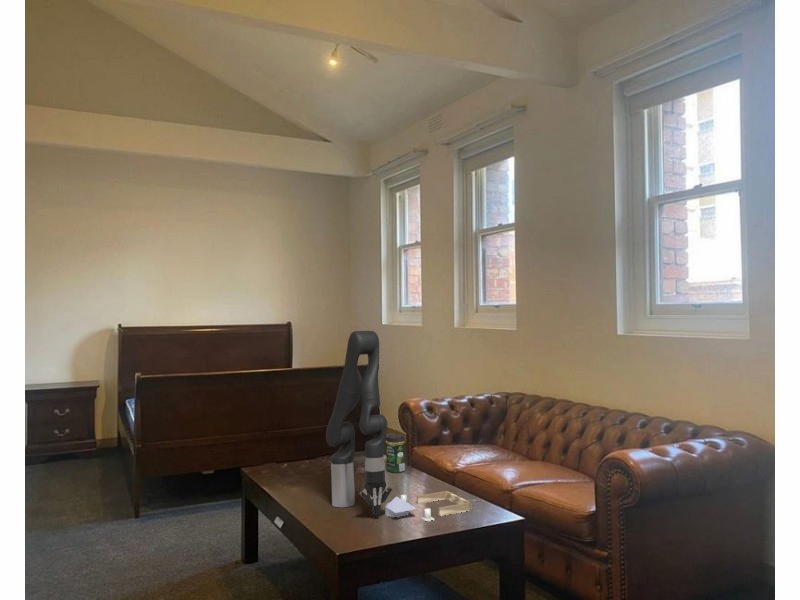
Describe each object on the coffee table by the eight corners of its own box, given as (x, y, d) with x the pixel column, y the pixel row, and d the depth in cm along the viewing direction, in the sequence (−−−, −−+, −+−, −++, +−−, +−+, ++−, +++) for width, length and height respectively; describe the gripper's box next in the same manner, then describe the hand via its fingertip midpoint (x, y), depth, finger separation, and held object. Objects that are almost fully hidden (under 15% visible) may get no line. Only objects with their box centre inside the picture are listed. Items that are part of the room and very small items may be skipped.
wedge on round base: (417, 517, 232) (402, 508, 244) (416, 499, 232) (401, 491, 244) (395, 522, 228) (381, 512, 240) (395, 503, 228) (380, 495, 240)
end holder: (416, 503, 250) (416, 495, 250) (447, 498, 256) (447, 490, 256) (439, 516, 233) (439, 508, 233) (472, 510, 238) (471, 502, 239)
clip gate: (398, 504, 249) (397, 494, 250) (406, 503, 251) (405, 493, 251) (425, 521, 227) (425, 510, 227) (434, 520, 229) (434, 509, 229)
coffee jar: (383, 470, 306) (382, 433, 306) (396, 468, 310) (395, 431, 311) (394, 474, 298) (393, 435, 298) (408, 471, 302) (406, 433, 303)
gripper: (386, 464, 239) (388, 509, 238) (355, 468, 233) (356, 515, 233) (394, 468, 232) (396, 514, 231) (362, 472, 226) (363, 520, 226)
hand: (376, 514), depth 232 cm, fingers closed
